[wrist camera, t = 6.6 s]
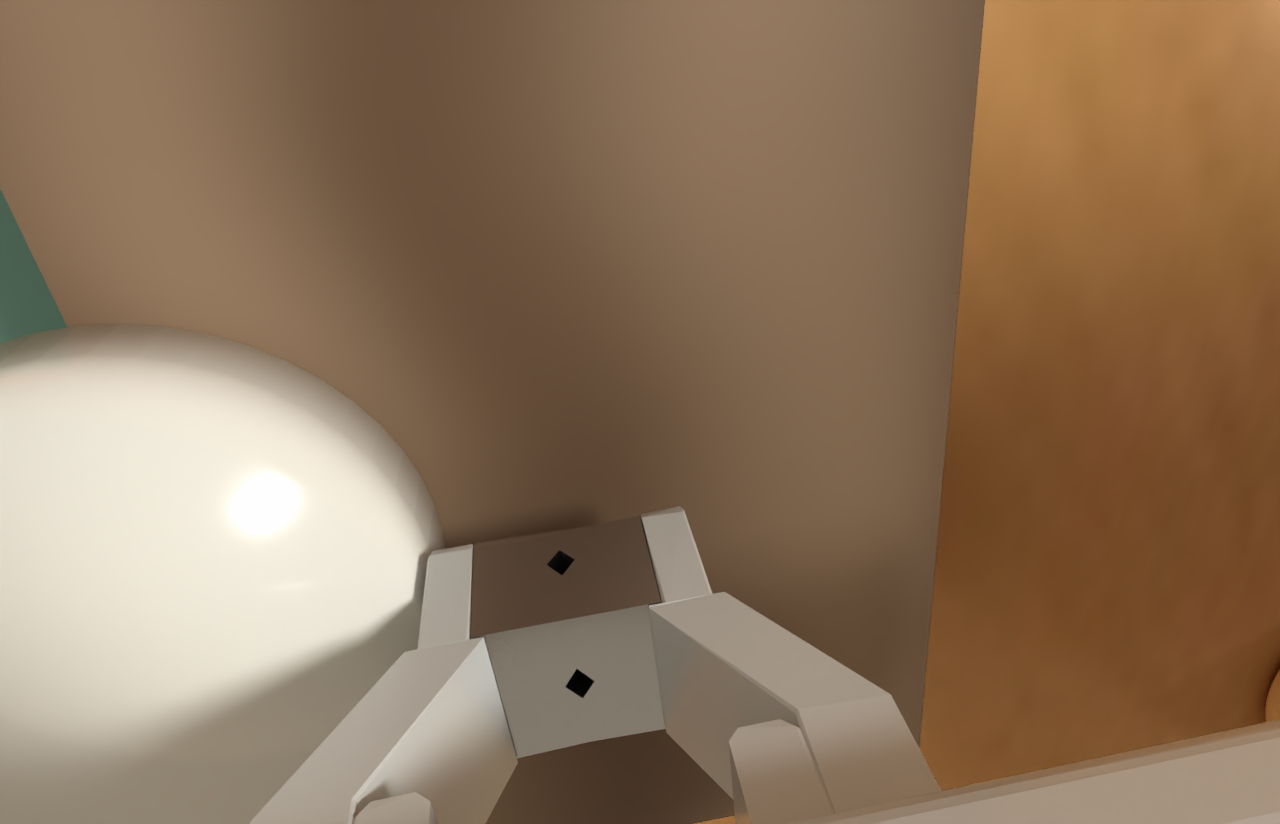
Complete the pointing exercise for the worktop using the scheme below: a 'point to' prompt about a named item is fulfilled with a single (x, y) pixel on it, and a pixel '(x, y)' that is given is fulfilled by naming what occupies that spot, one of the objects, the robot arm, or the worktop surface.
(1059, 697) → the worktop surface
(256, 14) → the block
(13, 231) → the mat
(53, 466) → the white domed disc
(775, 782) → the robot arm
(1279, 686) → the water bottle
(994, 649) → the worktop surface
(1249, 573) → the worktop surface
